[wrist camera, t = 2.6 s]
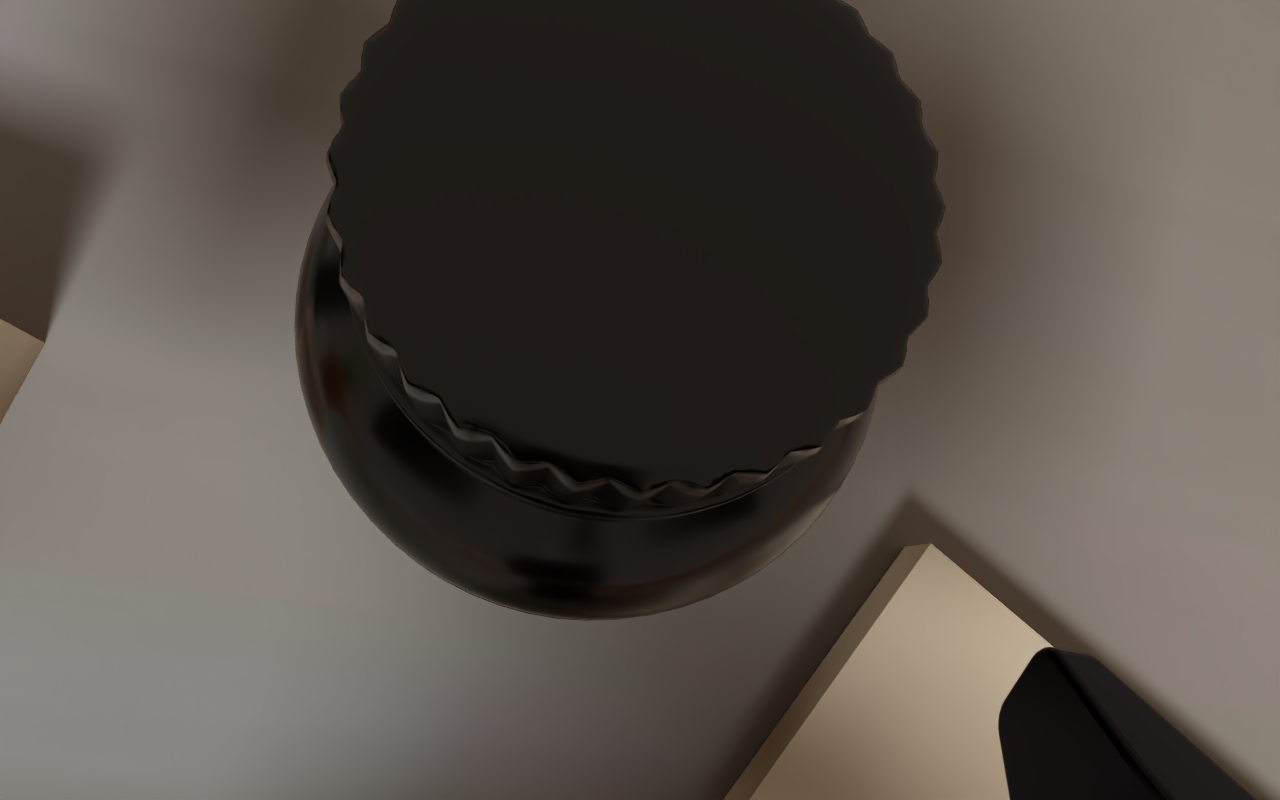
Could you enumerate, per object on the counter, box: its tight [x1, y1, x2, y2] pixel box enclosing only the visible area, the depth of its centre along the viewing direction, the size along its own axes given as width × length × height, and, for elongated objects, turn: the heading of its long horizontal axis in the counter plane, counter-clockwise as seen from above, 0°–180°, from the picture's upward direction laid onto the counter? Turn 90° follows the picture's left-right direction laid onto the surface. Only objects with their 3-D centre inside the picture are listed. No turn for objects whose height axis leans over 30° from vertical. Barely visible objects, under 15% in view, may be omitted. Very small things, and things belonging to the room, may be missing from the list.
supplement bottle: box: [295, 0, 945, 621], centre depth 12 cm, size 7×7×12 cm
